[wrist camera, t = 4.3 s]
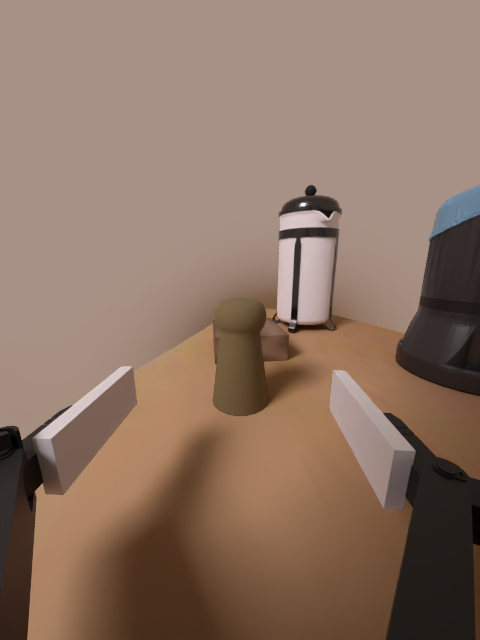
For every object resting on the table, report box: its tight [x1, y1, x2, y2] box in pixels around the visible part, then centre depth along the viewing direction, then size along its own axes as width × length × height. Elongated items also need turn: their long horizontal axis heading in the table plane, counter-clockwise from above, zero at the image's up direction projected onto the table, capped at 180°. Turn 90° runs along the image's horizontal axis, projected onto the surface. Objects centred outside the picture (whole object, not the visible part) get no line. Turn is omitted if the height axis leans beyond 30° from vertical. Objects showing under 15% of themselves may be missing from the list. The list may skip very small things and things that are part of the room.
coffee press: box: [272, 185, 342, 333], centre depth 53 cm, size 17×16×30 cm
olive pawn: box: [213, 298, 268, 416], centre depth 25 cm, size 6×6×11 cm
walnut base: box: [213, 318, 289, 364], centre depth 40 cm, size 11×11×4 cm
